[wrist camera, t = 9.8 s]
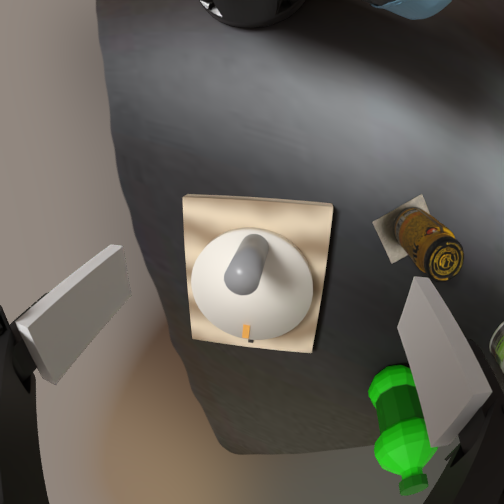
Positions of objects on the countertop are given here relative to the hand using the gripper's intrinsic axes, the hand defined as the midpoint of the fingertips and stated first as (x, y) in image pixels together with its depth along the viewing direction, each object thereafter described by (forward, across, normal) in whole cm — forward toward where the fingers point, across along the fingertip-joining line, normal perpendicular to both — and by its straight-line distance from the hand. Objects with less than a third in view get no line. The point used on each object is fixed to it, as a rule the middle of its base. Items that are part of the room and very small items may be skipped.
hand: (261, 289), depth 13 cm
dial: (+26, -4, -15) cm, 30 cm away
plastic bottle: (+28, +23, -34) cm, 49 cm away
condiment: (+29, +17, -6) cm, 34 cm away
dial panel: (+28, -4, -15) cm, 32 cm away
